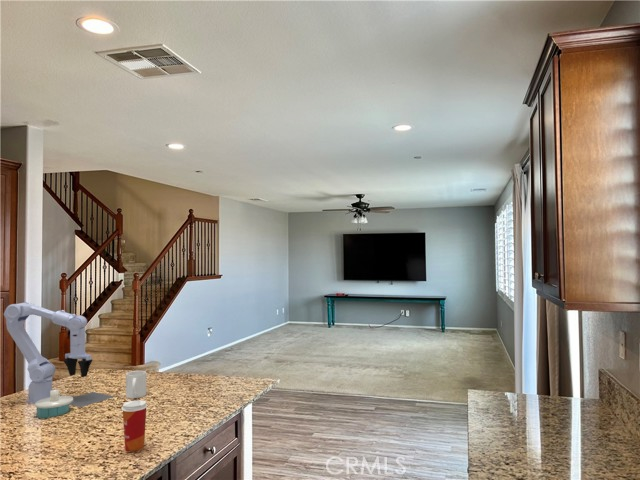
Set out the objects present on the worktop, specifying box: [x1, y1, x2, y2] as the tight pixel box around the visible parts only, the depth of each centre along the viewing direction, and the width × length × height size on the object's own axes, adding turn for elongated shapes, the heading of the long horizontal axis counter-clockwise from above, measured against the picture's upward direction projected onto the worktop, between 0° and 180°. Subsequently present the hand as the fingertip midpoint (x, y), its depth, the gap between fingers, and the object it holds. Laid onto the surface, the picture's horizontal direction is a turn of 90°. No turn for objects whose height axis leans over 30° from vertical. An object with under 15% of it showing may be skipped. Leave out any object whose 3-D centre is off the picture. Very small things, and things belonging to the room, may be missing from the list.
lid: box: [34, 388, 74, 409], centre depth 181 cm, size 13×13×5 cm
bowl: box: [36, 404, 70, 420], centre depth 180 cm, size 11×11×4 cm
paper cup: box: [121, 399, 148, 452], centre depth 146 cm, size 8×8×14 cm
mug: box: [125, 370, 147, 399], centre depth 199 cm, size 12×8×10 cm
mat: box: [69, 391, 116, 408], centre depth 197 cm, size 16×16×1 cm
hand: (78, 375), depth 197 cm, fingers open, 7 cm apart
